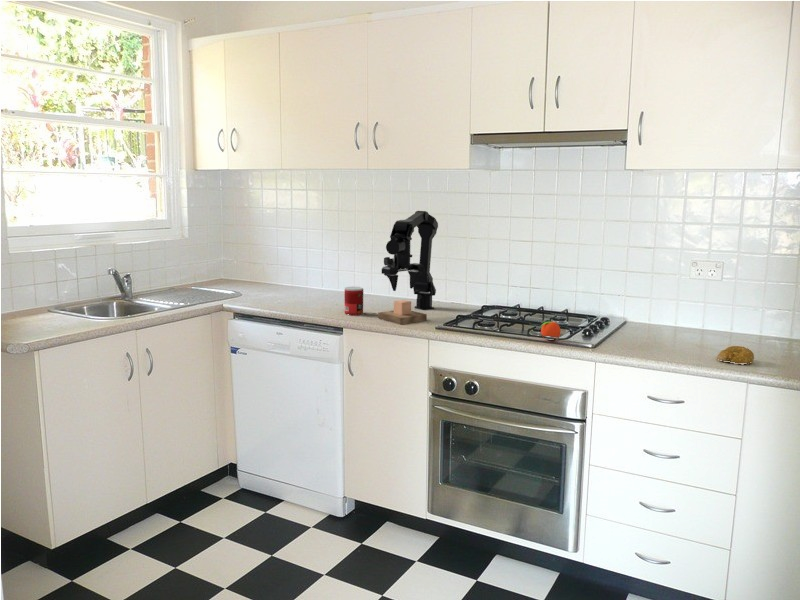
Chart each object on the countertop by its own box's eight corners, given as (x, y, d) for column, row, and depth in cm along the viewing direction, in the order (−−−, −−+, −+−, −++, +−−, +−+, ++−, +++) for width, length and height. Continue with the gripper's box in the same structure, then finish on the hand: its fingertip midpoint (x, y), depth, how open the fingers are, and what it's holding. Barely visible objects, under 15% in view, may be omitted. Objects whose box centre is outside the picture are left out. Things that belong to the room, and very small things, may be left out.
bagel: (711, 357, 221) (712, 343, 221) (745, 358, 221) (746, 344, 220) (723, 365, 212) (724, 351, 211) (759, 366, 211) (760, 352, 210)
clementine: (543, 343, 236) (544, 323, 235) (534, 338, 243) (535, 319, 241) (563, 342, 238) (564, 322, 237) (554, 337, 245) (555, 318, 244)
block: (402, 311, 276) (403, 299, 275) (410, 313, 272) (411, 301, 271) (393, 313, 273) (393, 300, 272) (401, 315, 269) (401, 302, 268)
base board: (404, 314, 282) (404, 308, 282) (426, 320, 272) (426, 314, 271) (378, 318, 273) (378, 312, 273) (400, 324, 263) (400, 318, 262)
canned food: (360, 315, 278) (360, 289, 276) (342, 314, 280) (342, 288, 278) (365, 312, 286) (365, 287, 284) (347, 311, 287) (347, 286, 285)
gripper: (407, 248, 284) (406, 284, 287) (372, 251, 272) (372, 289, 275) (425, 251, 276) (424, 288, 279) (390, 254, 264) (390, 293, 267)
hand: (402, 289), depth 275 cm, fingers open, 9 cm apart
